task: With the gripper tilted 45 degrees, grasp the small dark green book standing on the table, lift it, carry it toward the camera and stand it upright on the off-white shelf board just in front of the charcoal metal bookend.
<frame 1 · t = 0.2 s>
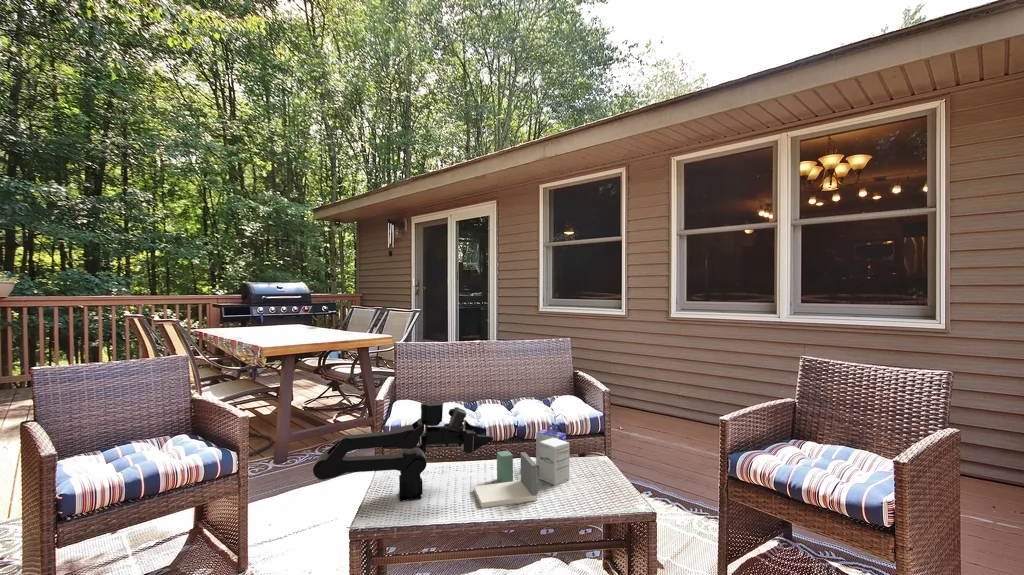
hand: (489, 434, 151), 17 cm above the table, tool horizontal, fingers open, 9 cm apart
green book: (504, 480, 155), on the table
shelf board: (504, 495, 144), on the table
supplement box: (554, 480, 156), on the table
ink cartridge box: (551, 467, 167), on the table
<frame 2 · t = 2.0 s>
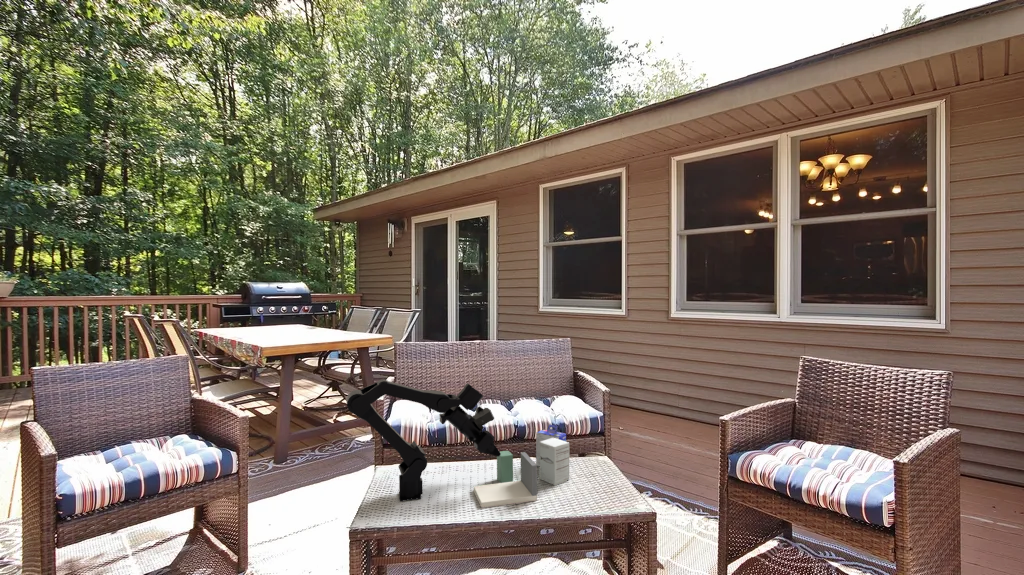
hand: (495, 450, 154), 10 cm above the table, tool tilted 45°, fingers open, 9 cm apart
nothing on the table moved.
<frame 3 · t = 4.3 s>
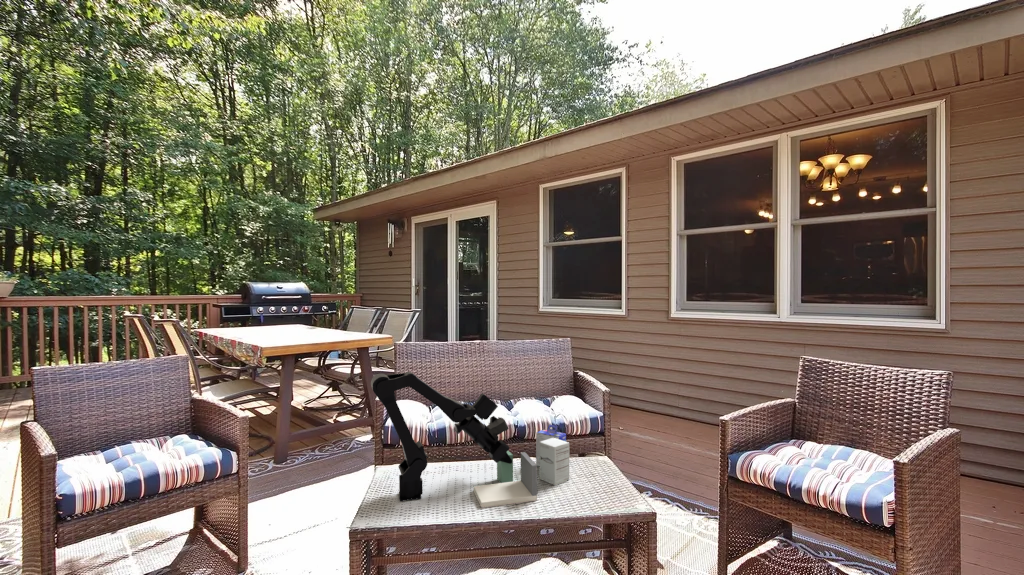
hand: (508, 460, 156), 7 cm above the table, tool tilted 45°, fingers closed on green book, 4 cm apart
green book: (505, 480, 155), on the table, touching gripper
everything else where it was.
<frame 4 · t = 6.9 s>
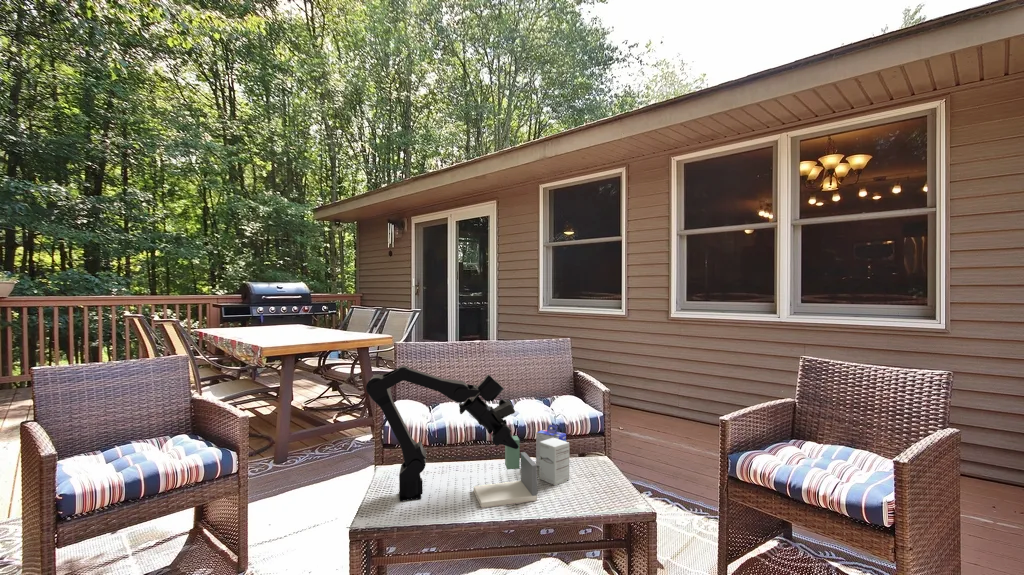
hand: (516, 445, 149), 14 cm above the table, tool tilted 45°, fingers closed on green book, 4 cm apart
green book: (512, 466, 149), point 7 cm above the table, touching gripper
everything else where it was.
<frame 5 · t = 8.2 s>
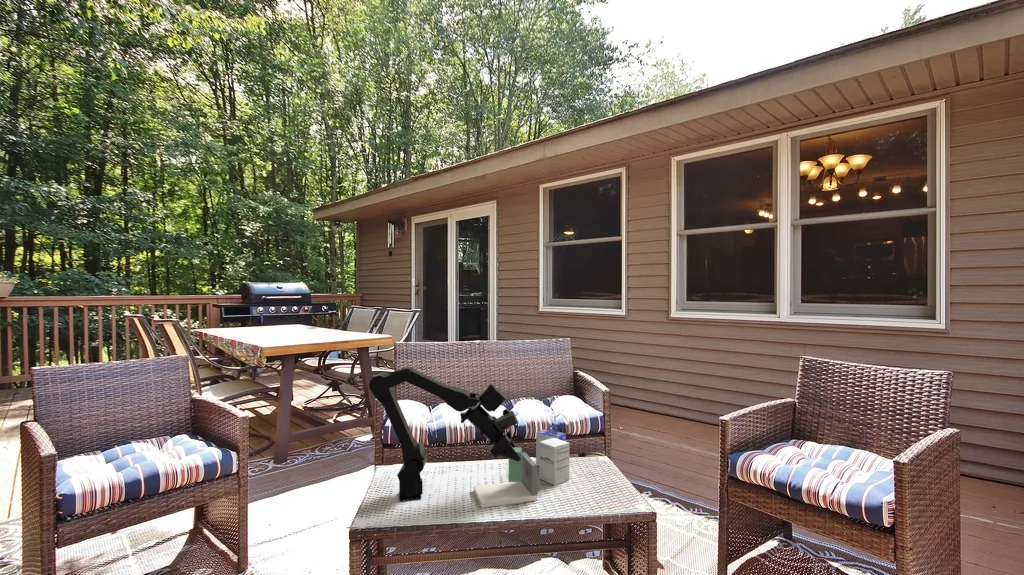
hand: (519, 457, 145), 11 cm above the table, tool tilted 45°, fingers closed on green book, 4 cm apart
green book: (515, 478, 145), point 5 cm above the table, touching gripper
everything else where it was.
when the fingers open (9 cm above the table, at t = 9.6 s): green book stays where it is, resting on shelf board.
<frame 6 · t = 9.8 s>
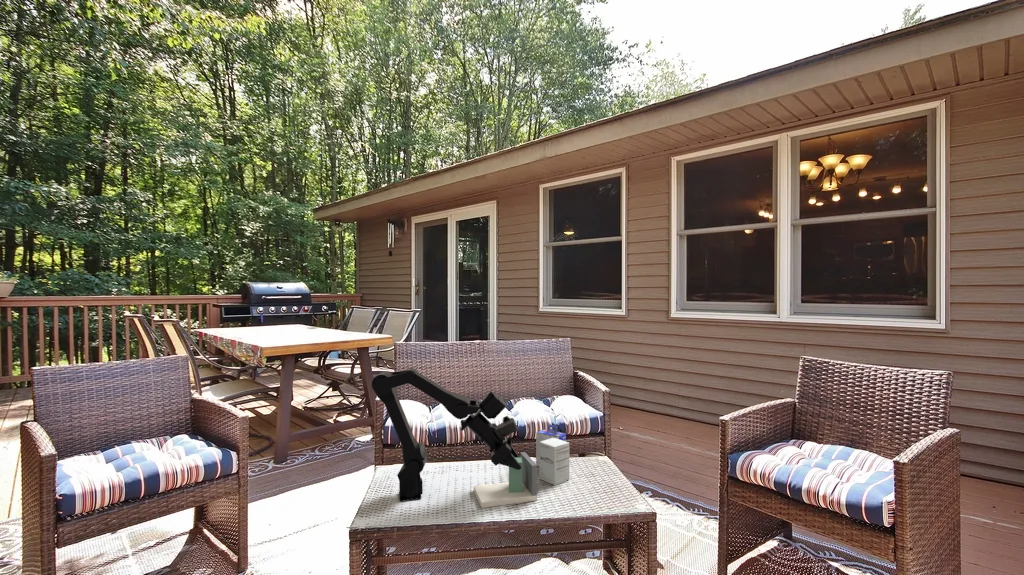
hand: (519, 464, 145), 9 cm above the table, tool tilted 45°, fingers open, 6 cm apart
green book: (515, 489, 145), point 1 cm above the table, touching shelf board
everything else where it was.
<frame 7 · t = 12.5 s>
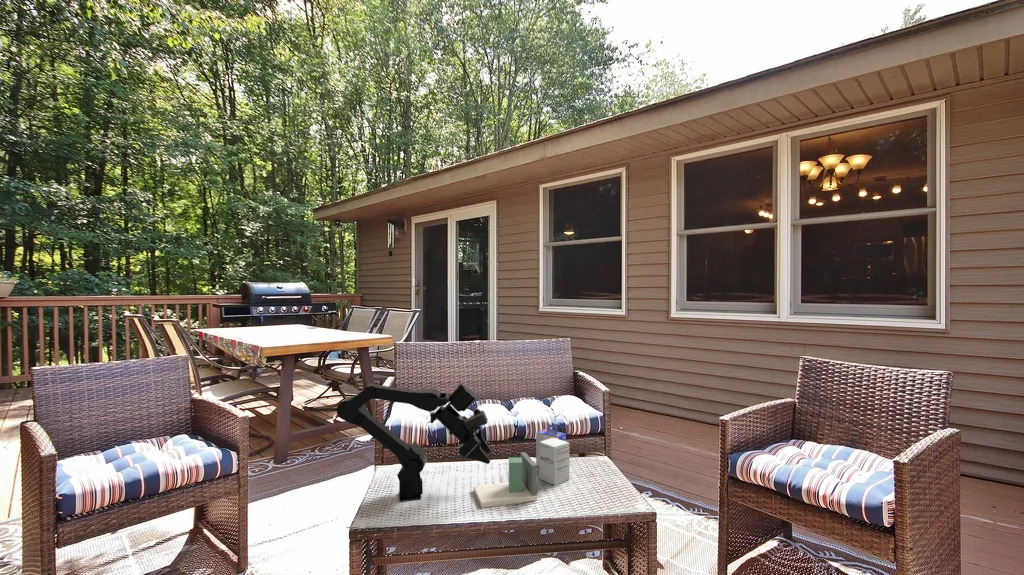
hand: (489, 457, 144), 11 cm above the table, tool tilted 45°, fingers open, 9 cm apart
nothing on the table moved.
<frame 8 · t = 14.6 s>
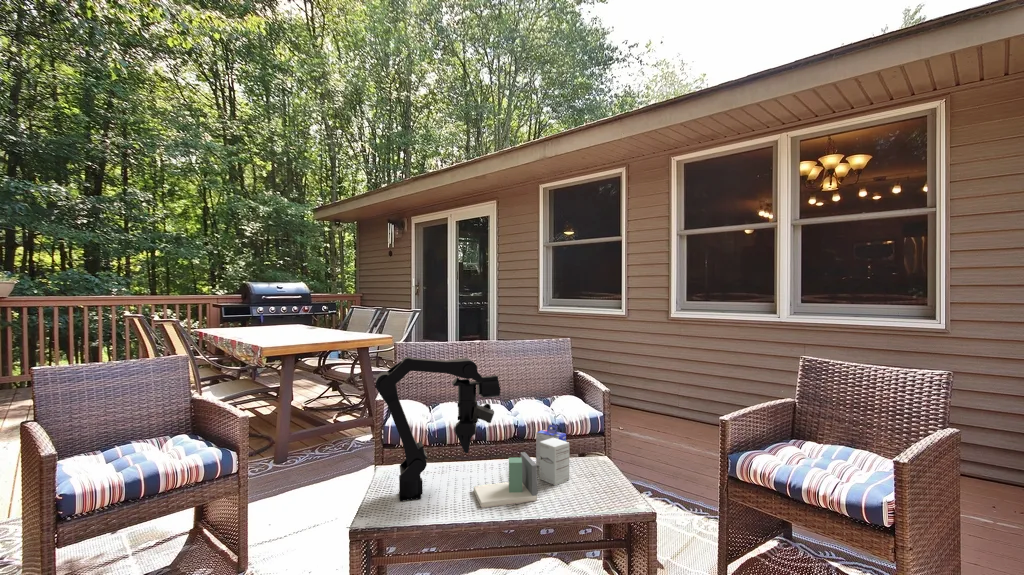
hand: (467, 447, 149), 13 cm above the table, tool pointing down, fingers open, 9 cm apart
nothing on the table moved.
at the end: green book inside the target area on the shelf board (0.0 cm from its centre), point 1.5 cm above the shelf board's base; green book tilted 0°; the gripper is holding nothing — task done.
